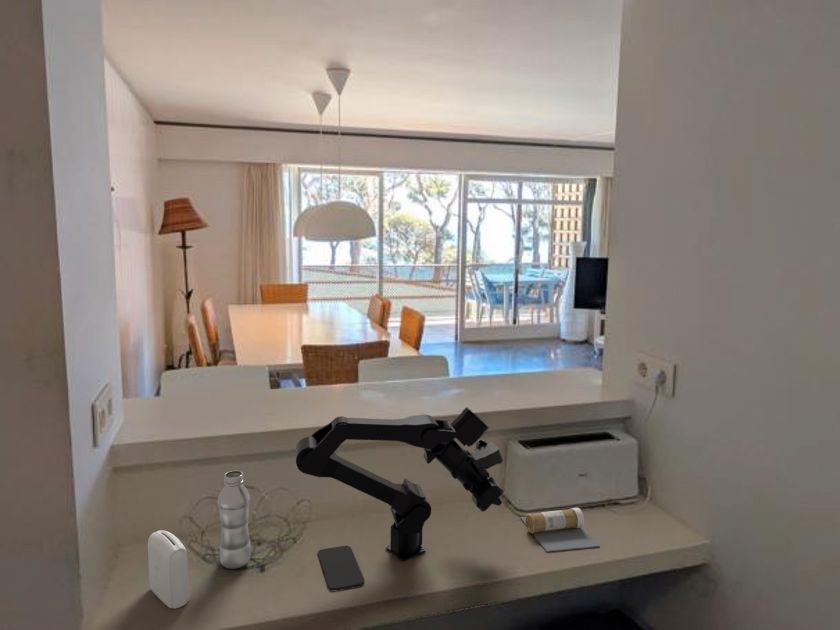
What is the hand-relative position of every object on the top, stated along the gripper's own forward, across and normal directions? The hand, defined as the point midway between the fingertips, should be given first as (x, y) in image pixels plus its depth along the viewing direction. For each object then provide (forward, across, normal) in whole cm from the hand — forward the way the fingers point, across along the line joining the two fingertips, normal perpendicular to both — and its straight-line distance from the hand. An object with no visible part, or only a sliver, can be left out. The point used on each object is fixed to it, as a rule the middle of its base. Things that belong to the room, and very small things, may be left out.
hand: (500, 503), depth 135 cm
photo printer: (-42, -8, +56) cm, 70 cm away
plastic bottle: (-34, +1, +48) cm, 59 cm away
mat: (+18, +2, -5) cm, 18 cm away
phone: (-18, -4, +33) cm, 38 cm away
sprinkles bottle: (+11, +2, -1) cm, 11 cm away
